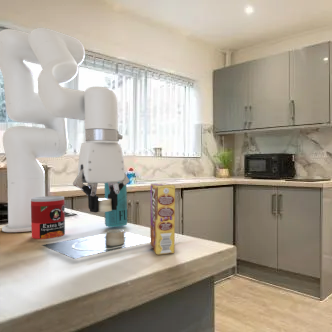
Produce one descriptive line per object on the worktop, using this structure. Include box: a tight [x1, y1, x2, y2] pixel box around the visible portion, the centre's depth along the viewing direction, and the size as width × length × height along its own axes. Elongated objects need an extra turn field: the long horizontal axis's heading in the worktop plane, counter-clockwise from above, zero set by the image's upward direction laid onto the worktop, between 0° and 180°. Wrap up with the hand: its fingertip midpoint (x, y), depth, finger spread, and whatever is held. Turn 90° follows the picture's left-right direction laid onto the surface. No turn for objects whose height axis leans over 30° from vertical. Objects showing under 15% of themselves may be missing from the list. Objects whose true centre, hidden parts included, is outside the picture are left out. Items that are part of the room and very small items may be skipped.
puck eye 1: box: [97, 197, 112, 213], centre depth 82 cm, size 4×4×3 cm
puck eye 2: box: [105, 228, 125, 246], centre depth 78 cm, size 4×4×3 cm
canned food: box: [31, 195, 66, 240], centre depth 88 cm, size 8×8×11 cm
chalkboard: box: [41, 231, 150, 260], centre depth 80 cm, size 18×20×1 cm
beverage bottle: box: [103, 182, 129, 228], centre depth 98 cm, size 6×7×20 cm
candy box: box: [149, 182, 176, 255], centre depth 75 cm, size 9×4×15 cm, turn 26°
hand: (103, 210), depth 82 cm, fingers closed on puck eye 1, 4 cm apart
